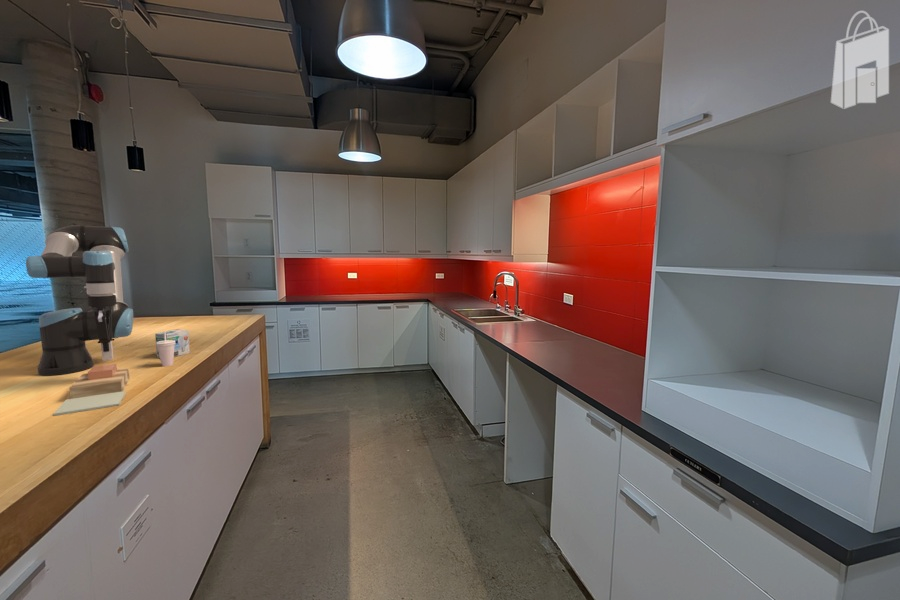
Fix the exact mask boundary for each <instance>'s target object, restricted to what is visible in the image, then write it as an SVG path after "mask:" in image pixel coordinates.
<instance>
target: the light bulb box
mask: <svg viewBox="0 0 900 600" xmlns="http://www.w3.org/2000/svg"><path fill="white" fill-rule="evenodd" d="M164 332H165V333H166V340H175V345H174V358H175V357H180V356H185V355H186V354H190V338H189V336H190V333H189V330H188V329H181V328H176V329H172V330H167V331H162V332H157V333H154V334H155V335H154V336H155V343H156V342H159V341H164ZM155 346H156V345H155ZM155 349H156V358H159V359H160V356H159V352H158V348H157V346H156V347H155Z"/></svg>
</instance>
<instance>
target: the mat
mask: <svg viewBox="0 0 900 600" xmlns="http://www.w3.org/2000/svg"><path fill="white" fill-rule="evenodd" d="M126 393H127V391H126V390H123V391H122V392H115V393H108V394H101V395H94V396H87V397H80V398H73V399H71V398H68V399H65V400H64V401H63V403H62V404H61V405H60V406H59V407H58V408H57V409H56V410H55V411H54V413H53V417H54V416H61V415H67V414H73V413H80V412H87V411H92V410H93V411H94V410H99V409H105V408H112V407H118V406H120V405H121V403H122V401H123V399H124V397H125V395H126Z"/></svg>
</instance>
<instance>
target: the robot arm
mask: <svg viewBox="0 0 900 600" xmlns="http://www.w3.org/2000/svg"><path fill="white" fill-rule="evenodd" d="M44 243H45V247H44V248H43V251H42V252H41V254H40V255H36V256H35V255H31V256H30V255H29V256H28V257H27V258H26V259H25V266H26V267H25V269H26V272H27V275H28V276H29V277H30V278H31V279H32V278H33V279H35V278H36V279H56V278H58V279H60V278H62V279H63V278H85V285H84V286H83V289H85V290H86V294H87V295H88V296H87V297H86V299H87V300H86V301H87V307H89V308H90V310H88V311H85V310H84V311H83V309H82V307H70V308H65V309H64V308H63V309H59V310H53V311H49V312H44V313H43V314H41V315H40V316H39V317H38V328H39V334H40V335H39V336H40V341H41V349H42V351H41V352H42V354H41V357H40V360H39V362H38V365H37V374H38V375H41V376H57V375H58V376H59V375H67V374H71V373H73V374H74V373H77V372H81V371H86V370H88V369H89V370H90V369H91V368H92V367H93V366H95V363H94V358H93V357H92V355H91V354H90V352H89V351H88V348H87V346H86V342H88V341H97V340H98V341H97V344H100V348H101V349H100V350H101V359H102V362H104V361H105V362H106V361H112V360H114V350H113V342H114V341H115V339H119V338H125V337H129V336H130V335H131V334H132V332H133V327H134V326H133V325H134V310H133V308H129V305H128V304H127V303H125V302H124V293H123V291H124V289H123V278H122V263H121V259H123V258H124V257H125V255H126V254H128V253H129V251H130V249H129V244H128V240H127V236H126V233H125V230H124V229H123V228H122V227H119V226H118V227H117V226H111V225H109V226H99V225H98V226H95V225H79V224H77V225H76V224H74V225H73V224H72V225H67V226H64V227H60V228H57V229H54V230H53V231H51V232H50V233H49V234H48V235H47V236H46V238H45V241H44ZM73 253H82V256H73Z"/></svg>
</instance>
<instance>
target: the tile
mask: <svg viewBox="0 0 900 600" xmlns="http://www.w3.org/2000/svg"><path fill="white" fill-rule="evenodd" d="M117 370H118V365H117V363H110V364H101V365H94V366H93V367H91V368H90V369H89V371H88V372H87V373H88V380H92V379H100V378H108V377H113V376H114V374H115V373H116V371H117Z"/></svg>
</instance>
